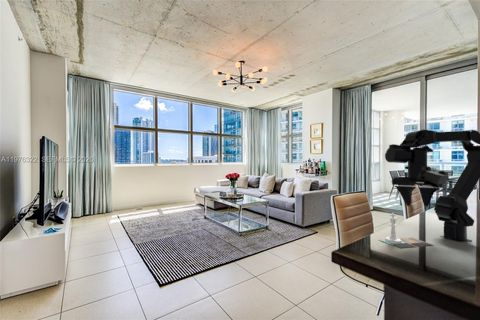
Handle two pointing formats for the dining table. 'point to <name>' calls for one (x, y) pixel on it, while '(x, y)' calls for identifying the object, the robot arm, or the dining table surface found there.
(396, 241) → the chess piece
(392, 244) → the pad
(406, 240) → the walnut board
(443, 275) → the dining table surface
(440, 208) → the robot arm
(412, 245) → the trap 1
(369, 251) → the dining table surface
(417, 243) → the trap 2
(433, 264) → the dining table surface
